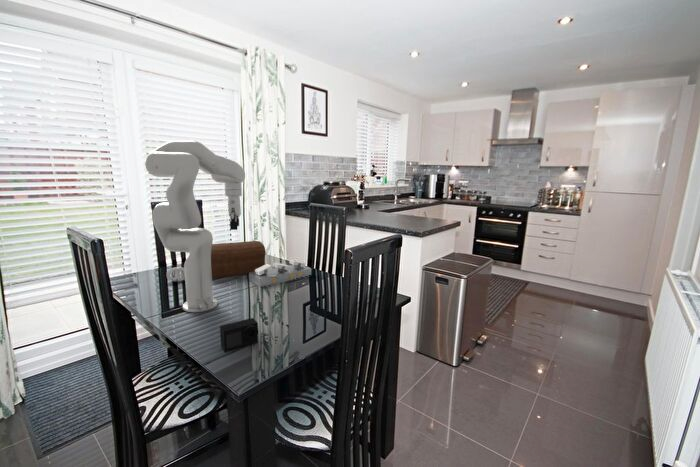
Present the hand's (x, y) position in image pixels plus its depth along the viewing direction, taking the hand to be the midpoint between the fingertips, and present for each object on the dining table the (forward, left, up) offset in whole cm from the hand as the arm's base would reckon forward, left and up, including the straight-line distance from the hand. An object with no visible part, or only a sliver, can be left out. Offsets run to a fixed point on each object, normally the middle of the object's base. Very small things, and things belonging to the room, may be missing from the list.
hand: (234, 227), depth 156 cm
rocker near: (-13, -8, -20) cm, 25 cm away
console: (-13, -18, -26) cm, 34 cm away
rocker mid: (-13, -18, -20) cm, 30 cm away
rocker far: (-13, -27, -20) cm, 36 cm away
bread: (+11, -3, -26) cm, 29 cm away
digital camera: (-63, +24, -26) cm, 72 cm away
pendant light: (+12, +25, -26) cm, 37 cm away
